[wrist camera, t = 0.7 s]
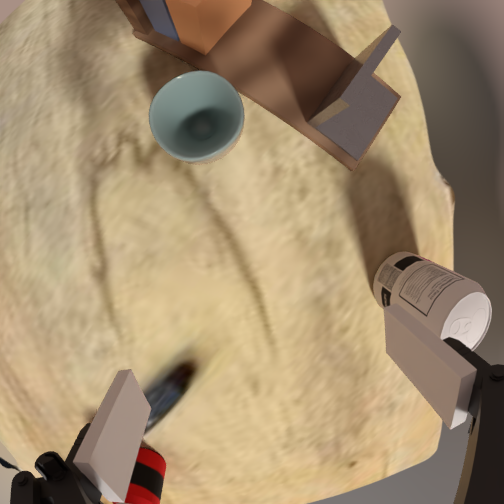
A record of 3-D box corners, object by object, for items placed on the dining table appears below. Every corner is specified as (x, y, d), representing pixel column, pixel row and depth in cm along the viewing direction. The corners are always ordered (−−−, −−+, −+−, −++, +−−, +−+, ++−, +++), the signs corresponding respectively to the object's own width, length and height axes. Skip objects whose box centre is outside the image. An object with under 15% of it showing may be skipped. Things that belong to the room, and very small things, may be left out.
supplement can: (427, 252, 37) (503, 285, 23) (414, 309, 39) (479, 360, 24) (376, 247, 37) (449, 284, 22) (365, 309, 38) (424, 370, 24)
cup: (192, 180, 34) (177, 179, 24) (159, 123, 32) (132, 102, 22) (253, 144, 33) (262, 129, 23) (218, 87, 31) (214, 54, 22)
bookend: (306, 122, 31) (339, 97, 21) (350, 62, 30) (392, 24, 19) (356, 160, 33) (406, 154, 22) (395, 99, 31) (449, 76, 21)
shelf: (135, 37, 29) (97, -17, 16) (194, -25, 27) (183, -89, 14) (350, 170, 34) (409, 167, 21) (396, 98, 33) (460, 72, 20)
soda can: (169, 474, 44) (160, 525, 32) (129, 468, 43) (115, 516, 31) (163, 449, 42) (152, 504, 30) (120, 443, 41) (103, 495, 30)
